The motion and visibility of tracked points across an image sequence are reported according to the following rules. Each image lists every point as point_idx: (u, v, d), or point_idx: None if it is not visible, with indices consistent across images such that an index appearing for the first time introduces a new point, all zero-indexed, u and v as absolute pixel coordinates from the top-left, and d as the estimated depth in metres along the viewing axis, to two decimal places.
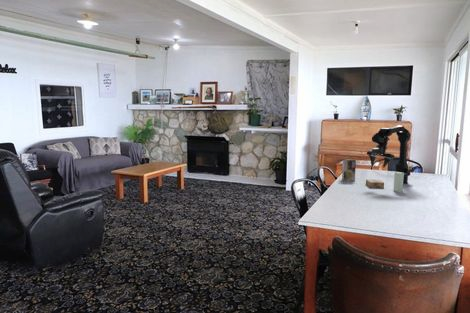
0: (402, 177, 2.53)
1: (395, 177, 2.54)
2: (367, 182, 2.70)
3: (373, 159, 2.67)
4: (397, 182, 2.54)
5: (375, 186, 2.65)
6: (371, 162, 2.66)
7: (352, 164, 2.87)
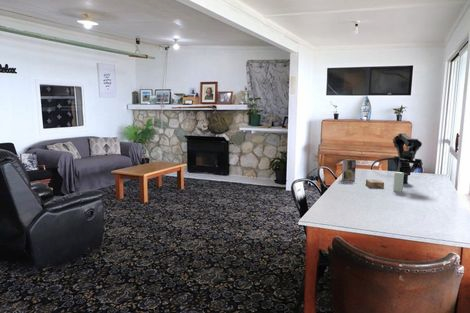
0: (402, 177, 2.53)
1: (395, 177, 2.54)
2: (367, 182, 2.70)
3: (399, 165, 2.65)
4: (397, 182, 2.54)
5: (375, 186, 2.65)
6: (397, 166, 2.64)
7: (352, 164, 2.87)
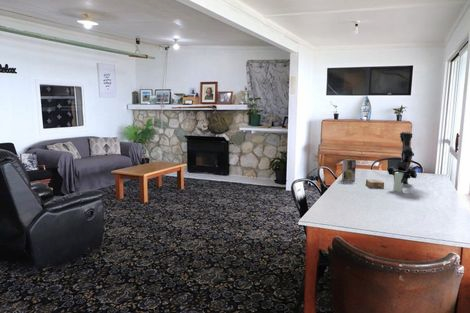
0: (402, 177, 2.53)
1: (395, 177, 2.54)
2: (367, 182, 2.70)
3: None
4: (397, 182, 2.54)
5: (375, 186, 2.65)
6: None
7: (352, 164, 2.87)
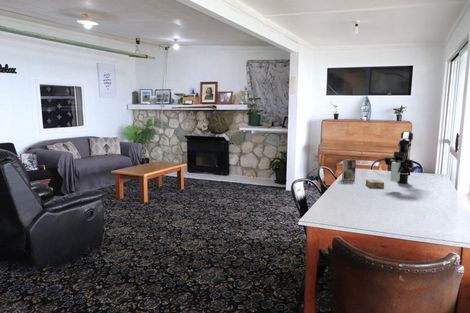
0: (399, 167, 2.55)
1: (392, 167, 2.55)
2: (367, 182, 2.70)
3: None
4: (394, 171, 2.55)
5: (375, 186, 2.65)
6: None
7: (352, 164, 2.87)
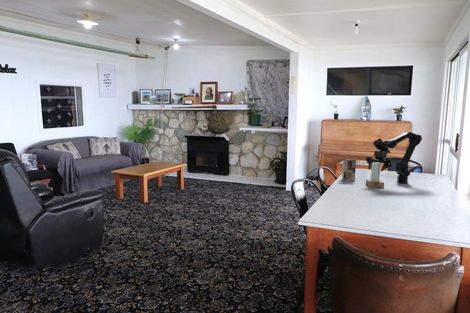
0: (379, 167, 2.66)
1: (372, 168, 2.67)
2: (367, 182, 2.70)
3: (371, 164, 2.73)
4: (374, 172, 2.67)
5: (375, 186, 2.65)
6: (369, 166, 2.71)
7: (352, 164, 2.87)
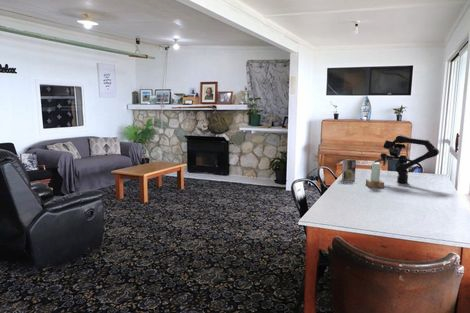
0: (379, 167, 2.66)
1: (372, 168, 2.67)
2: (367, 182, 2.70)
3: (385, 161, 2.82)
4: (374, 172, 2.67)
5: (375, 186, 2.65)
6: (383, 162, 2.81)
7: (352, 164, 2.87)
